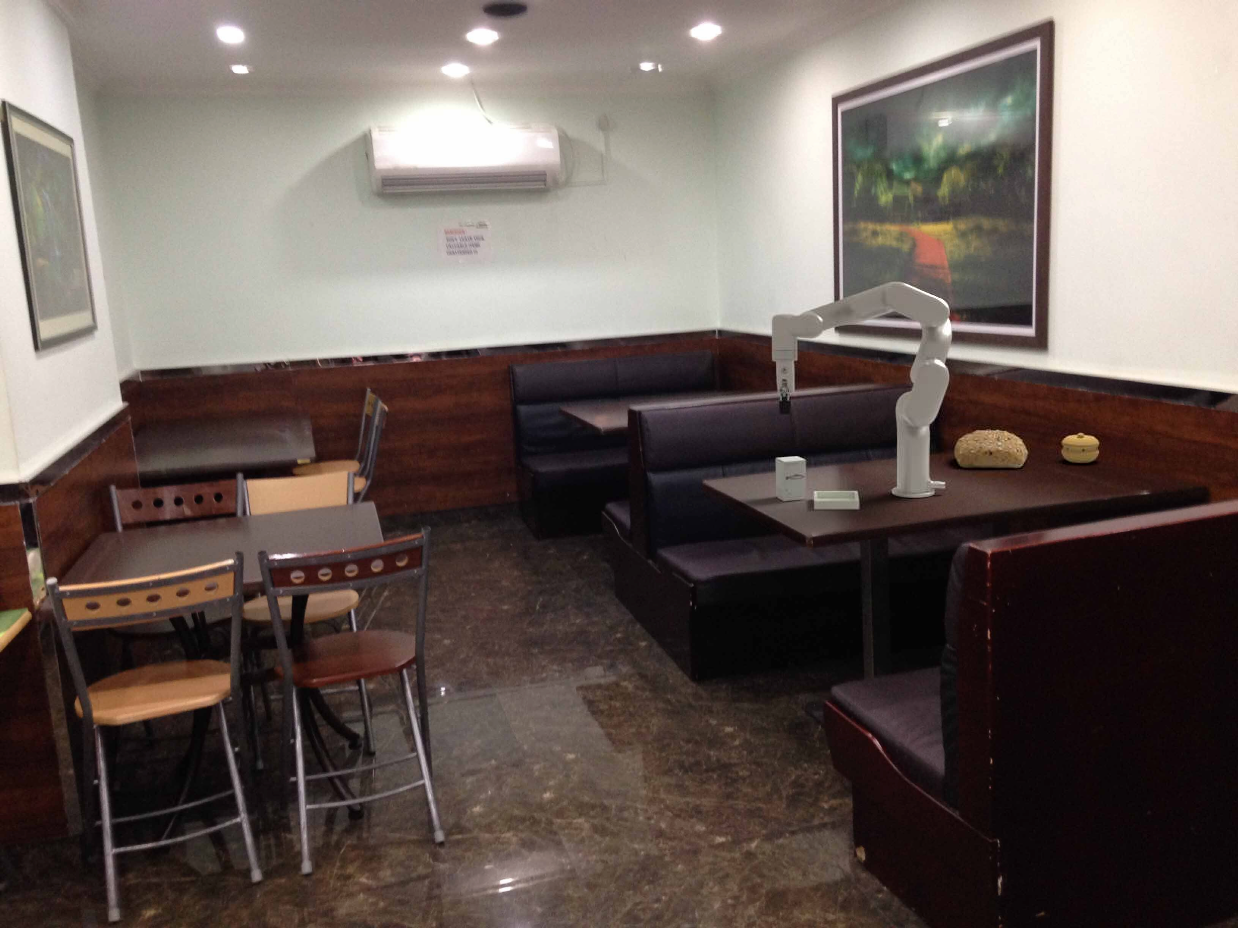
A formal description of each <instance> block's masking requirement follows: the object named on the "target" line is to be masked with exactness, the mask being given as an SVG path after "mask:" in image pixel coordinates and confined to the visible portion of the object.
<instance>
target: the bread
mask: <svg viewBox="0 0 1238 928" xmlns="http://www.w3.org/2000/svg"><path fill="white" fill-rule="evenodd" d="M1028 454H1029V451H1028V450H1027V447H1026V445H1025V444H1024V442H1023V439H1021V438H1020V437H1019V436H1016V434H1014V433H1010V432H1009V431H1006V430H1004V431H1003V430H1000V429H996V430H991V429H985V430H980V429H977V430H975V431H972V432H971V433H966V434H965V435H963V436H962V437H960V438H959V439H957V441H956V444H955V446H954V454H953V455H954V457H955V460H956V461H957V464H958V465H959V466H960V467H962V468H967V469H977V468H978V469H989V468H993V469H1007V468H1009V469H1018V468H1021V467H1022V466H1024V463H1025V462H1026V460H1027V458H1028Z"/></svg>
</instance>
